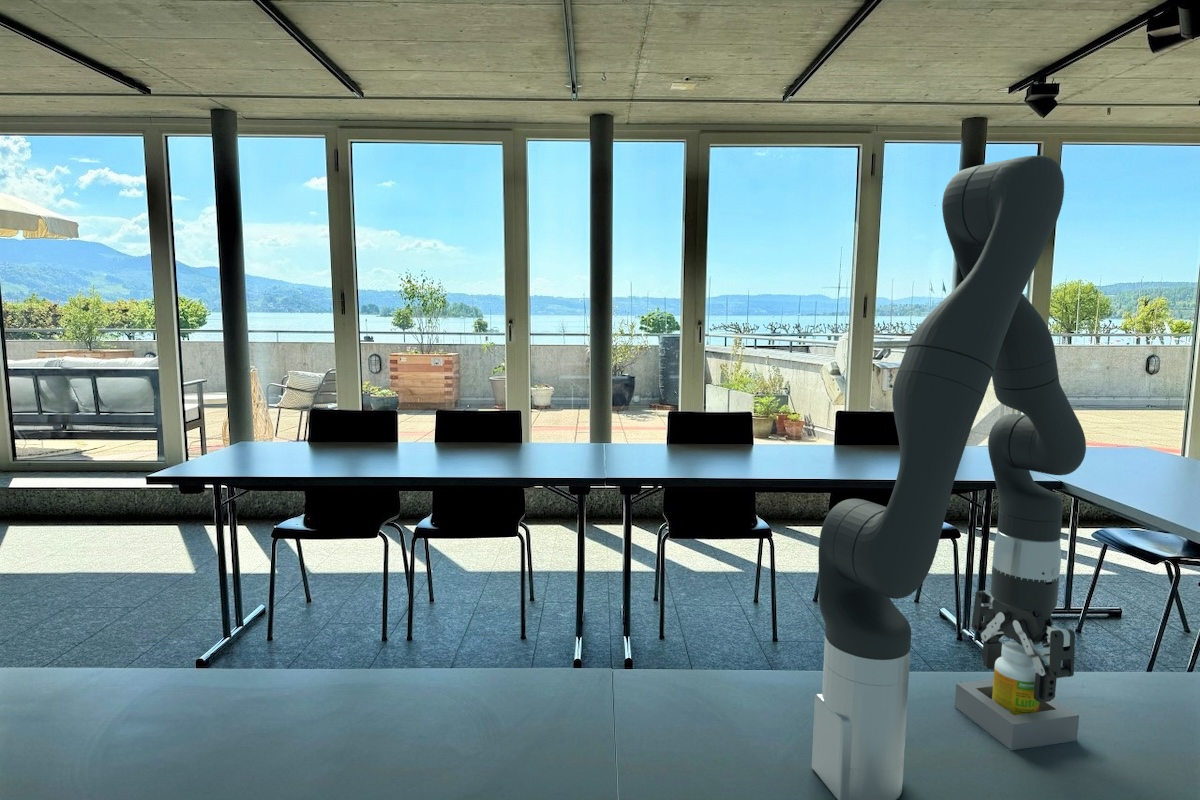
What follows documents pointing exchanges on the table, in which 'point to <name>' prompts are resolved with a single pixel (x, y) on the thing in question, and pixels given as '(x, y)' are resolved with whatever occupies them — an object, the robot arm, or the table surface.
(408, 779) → the table surface
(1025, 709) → the supplement bottle
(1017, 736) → the socket mount
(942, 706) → the table surface
